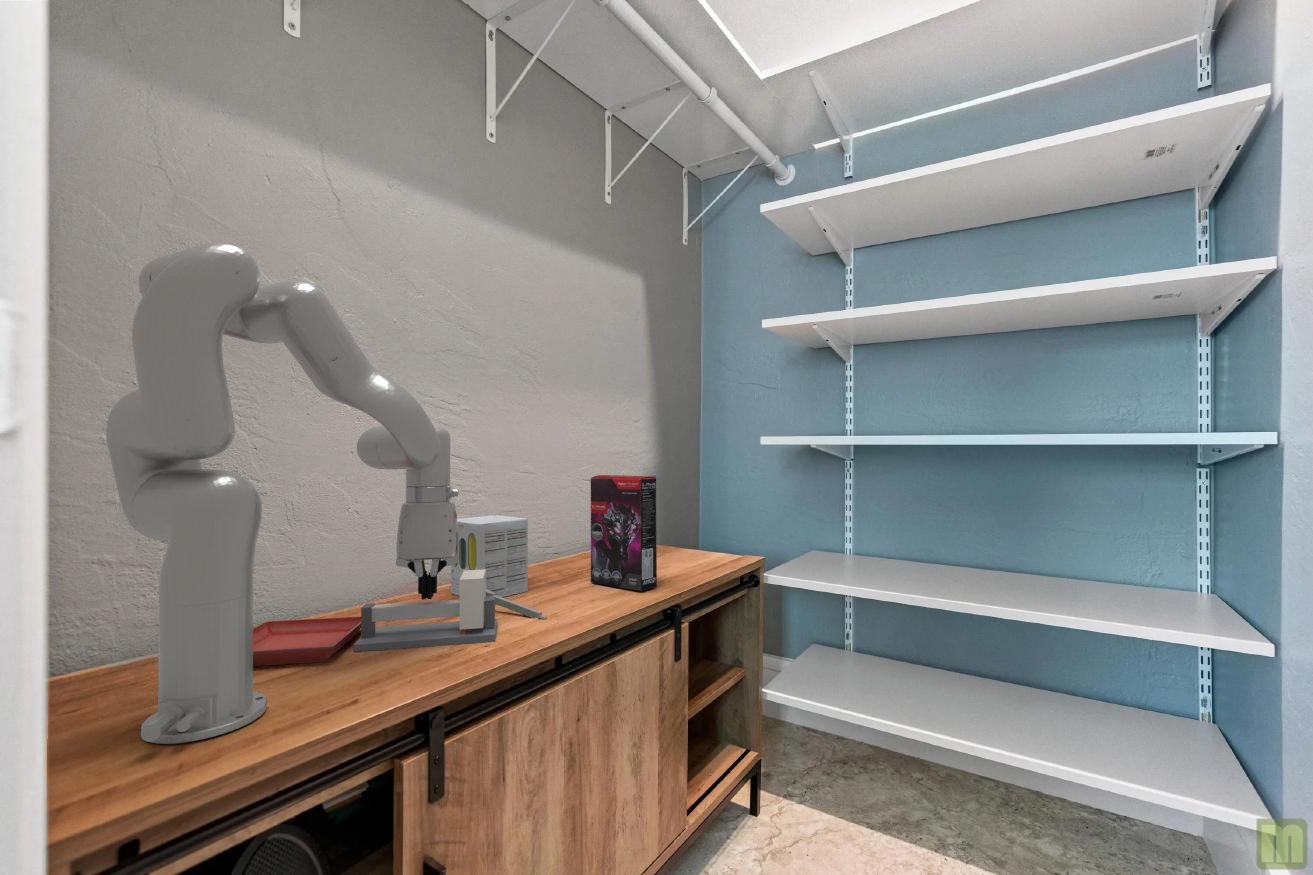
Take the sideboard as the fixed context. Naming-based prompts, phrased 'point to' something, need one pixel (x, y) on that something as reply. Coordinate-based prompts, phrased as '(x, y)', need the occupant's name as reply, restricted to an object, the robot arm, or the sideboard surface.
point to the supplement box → (493, 553)
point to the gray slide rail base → (421, 625)
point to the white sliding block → (472, 599)
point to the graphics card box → (624, 531)
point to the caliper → (515, 606)
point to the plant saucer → (301, 639)
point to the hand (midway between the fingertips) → (427, 597)
